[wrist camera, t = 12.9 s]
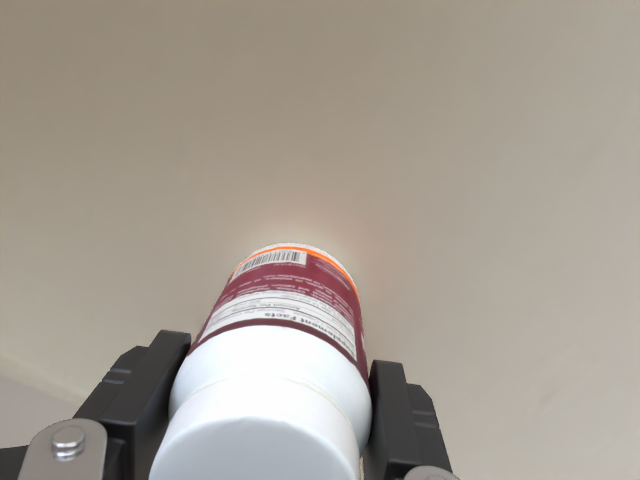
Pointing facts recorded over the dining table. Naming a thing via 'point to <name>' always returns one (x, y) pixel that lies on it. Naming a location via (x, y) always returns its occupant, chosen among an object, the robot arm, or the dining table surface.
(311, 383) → the pill bottle
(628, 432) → the dining table surface
